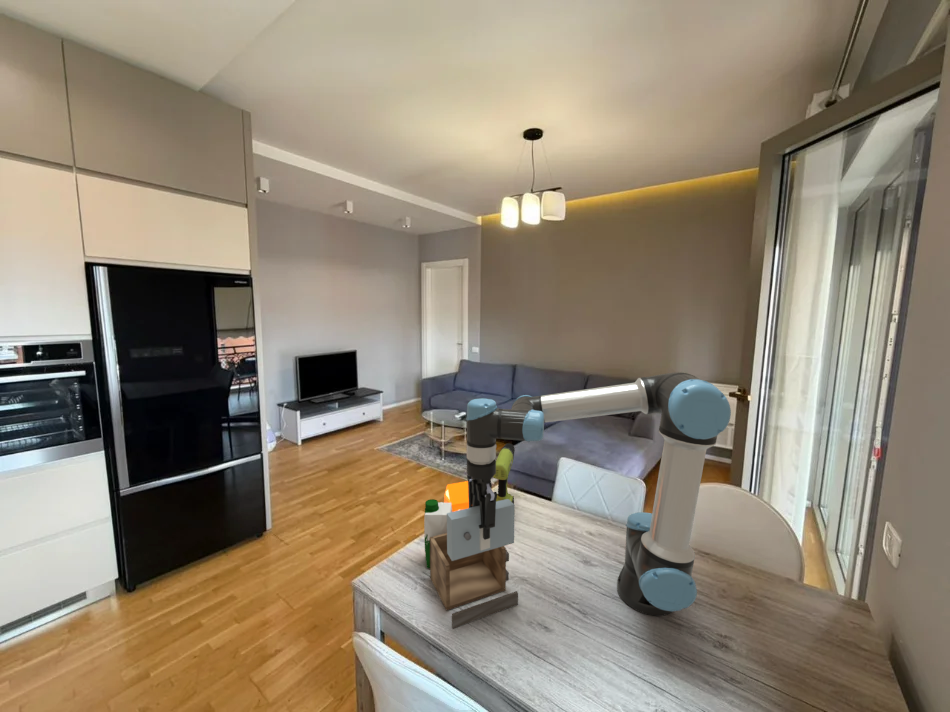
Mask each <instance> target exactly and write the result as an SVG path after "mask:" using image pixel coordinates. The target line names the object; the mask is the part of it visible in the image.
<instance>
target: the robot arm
mask: <svg viewBox="0 0 950 712" xmlns="http://www.w3.org/2000/svg"><path fill="white" fill-rule="evenodd" d="M634 412H635V413H636V412H642V413H643V414H645V415H652V414H659V415H660V421H659V428H658V433H659V434H660V435H661V436H662V438H663V440H664V441H663V448H662V454H661V459H660V464H659V470H658V476H657V477H658V478H657V482H656V489H655V495H654V500H653V501H654V502H653V507H652V513H650V512H642V511H641V512H640V511H639V512H634V513H631V514H629V515H628V517H627V519H626V524H625V527H626V529H625V530H626V531H625V533H626V534H625V553H624V554H625V555H624V563H623V567H622V568H621V571H620V572H619V575H618V576H617V582H616V591H617V594H618V596H619V597H620V599H621V600H622V601H623V602H624V603H625V604H626V605H627V606H628V607H630V608H632V609H634V610H635V611H637V612H640V613H642V614H645V615H649V616H655V617H656V616H657V617H658V616H659V617H660V616H666V615H670V614H671V613H672V612H677V611H678V612H680V611H682V610H683V609H688V608H689V607H690V606H691V605H693V604H694V602H695V601H696V599H697V595H698V590H697V589H698V588H697V585H696V581H695V579H694V578H693V576H692V575H693V568H694V563H695V559H696V554H695V551H694V549H693V548H692V546H691V545H690V542H691V536H692V530H693V526H694V519H695V514H696V510H697V509H696V507H697V502H698V497H699V491H700V486H701V480H702V475H703V469H704V465H705V461H706V460H705V459H706V453H707V450H708V449H711V448H712V447H713V446H716V443H717V440H718V436H719V434H720V433H721V432H724V431H725V430H726V429H727V427H728V425H729V423H730V421H731V417H732V410H731V405H730V402H729V400H728V398H727V397H726V395H725V394H724V393H723V392H722V391H721V390H720V389H719V388H718V387H717V386H715V385H714V384H713V383H711V382H708V381H707V380H703V379H701V378H699V377H697V376H695V375H693V374H690V373H688V372H683V371H681V372H680V371H676V372H668V373H662V374H656V375H650V376H643V377H637V379H636V380H635V382H629V383H622V384H614V385H609V386H600V387H595V388H587V389H579V390H571V391H565V392H559V393H551V394H545V395H536V396H531V395H529V394H525V395H524V394H523V395H520V396H518V397H517V398H516V399H514V401H513V403H512V405H511V408H509V409H508V408H498V406H497V402H496V401H495V400H494V399H492V398H485V397H483V398H482V397H481V398H475V399H471V400H469V402H468V403H467V407H466V418H465V420H466V459H467V460H466V473H467V475H466V479H467V481H468V497H469V508H471V507H475V506H479V505H480V515H481V525H479V528H480V550H485V549H488V548H490V528H493V527H495V513H496V499H497V494H498V491H493V489H492V480H491V479H492V478H493V476H494V475H495V474H496V460H497V457H496V456H497V452H496V451H497V447H498V446H497V439H499V440H510V441H511V440H513V441H523V442H525V441H526V442H528V443H529V442H540V441H542V440H543V439H544V433H545V432H544V431H545V430H544V429H545V423H553V422H560V421H569V420H577V419H584V418H586V419H587V418H593V417H601V416H603V417H604V416H609V415H618V414H626V413H634Z"/></svg>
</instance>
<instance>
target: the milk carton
mask: <svg viewBox="0 0 950 712" xmlns="http://www.w3.org/2000/svg"><path fill="white" fill-rule="evenodd" d="M424 505H425V506H424V521H423V522H424V526H423V527H424V553H425V554H424V555H425V563H426V569H430V537H433V536H437V535H440V534H444V533H447V513H450V512H452V504H451V503H444V501H443V502H442V501H441V502H439V501H438V500H437V499H435V498H434V499H433V498H430V499H428V500H426V501H425V504H424Z"/></svg>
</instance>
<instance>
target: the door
mask: <svg viewBox="0 0 950 712" xmlns="http://www.w3.org/2000/svg"><path fill="white" fill-rule="evenodd" d="M515 505H516V504H515V503H514V504H513V503H512V502H511V501H510V500H509V499H505V500H501V501H496V513H495V527H493V528H490V548H488V549H485V550H480V528H479V525H481V515H480V505H479V506H475V507H471V508H467V509H462V510H458V511H454V512H450V513H447V554H448V555H449V557H450V558H451V560H452V561H454V560H457V559H461V558H464V557H468V556H471V555H474V554H478V553H481V552H485V551H488V550H492V549H495V548H498V547H502V546H504V547H506V546H508V545H511V544H512V545H513V544H514V543H515V509H516V508H515V507H516V506H515Z"/></svg>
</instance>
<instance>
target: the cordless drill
mask: <svg viewBox="0 0 950 712" xmlns="http://www.w3.org/2000/svg"><path fill="white" fill-rule="evenodd" d="M515 451H516V450H515V446H514V444H512V443H510V442H509V443H506V444H505V445H504V446H503V447H502V448H501V450H500V451H499V454H498V455H497V457H496V459H495V460H496V474H495V475H494V476H493V477H492V478H494V479H495V480H498V482H497V483H498V484H497V499H496V501H501V500H505V499H509V500H510V501H511V502H512V503H513V504H514V505H515V496H514V495H512V494H511V493H509V492H508V479H509V474H510V472H511V469H512V466H513V463H514V460H515V459H514V458H515V453H516V452H515Z"/></svg>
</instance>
